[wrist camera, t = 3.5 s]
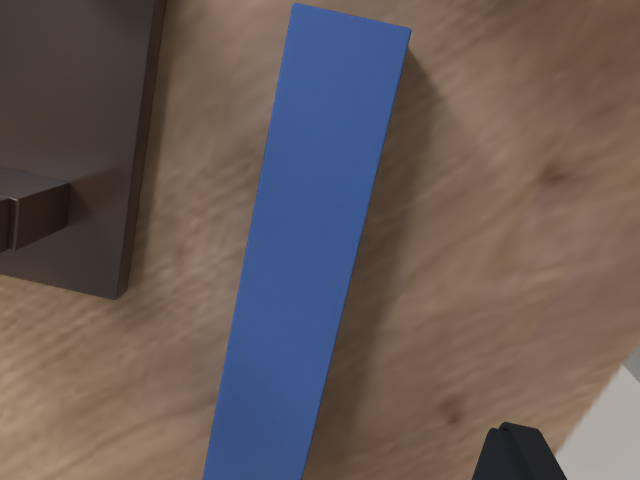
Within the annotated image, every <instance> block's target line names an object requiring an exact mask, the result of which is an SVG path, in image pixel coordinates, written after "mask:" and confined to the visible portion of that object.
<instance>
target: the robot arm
mask: <svg viewBox="0 0 640 480" xmlns="http://www.w3.org/2000/svg"><path fill="white" fill-rule="evenodd" d="M472 480H567V478H566V477H565V475H564V473H563V471H562V469H561V468H560V466H559V464H558V462H557V461H556V459H555V457H554V455H553V453H552V452H551V450H550V448H549V446H548V444H547V443H546V441H545V439H544V437H543V435H542V434H541V432H540V431H539V430H538V429H535V428H531V427H526V426H522V425H517V424H513V423H508V422H504V423H502V424H501V426H500V427H499V429H496V428H491V429H490V430H489V432H488V434H487V436H486V439H485V442H484V445H483V448H482V451H481V454H480V457H479V460H478V463H477V466H476V469H475V472H474V475H473V477H472Z"/></svg>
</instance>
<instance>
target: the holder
mask: <svg viewBox="0 0 640 480" xmlns="http://www.w3.org/2000/svg"><path fill="white" fill-rule="evenodd" d="M165 4H166V0H0V274H3V275H8V276H12V277H16V278H21V279H25V280H29V281H34V282H38V283H43V284H47V285H51V286H56V287H60V288H64V289H69V290H73V291H77V292H82V293H86V294H91V295H95V296H99V297H104V298H108V299H112V300H117V299H118V298H119V297H120V296H121V295H122V294H124V293H125V292H126V291H127V285H128V278H129V270H130V263H131V255H132V248H133V241H134V233H135V226H136V218H137V211H138V204H139V196H140V189H141V181H142V174H143V167H144V159H145V152H146V144H147V137H148V130H149V122H150V115H151V107H152V100H153V93H154V85H155V78H156V70H157V63H158V56H159V48H160V41H161V33H162V26H163V19H164V11H165Z"/></svg>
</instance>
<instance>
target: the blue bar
mask: <svg viewBox="0 0 640 480" xmlns="http://www.w3.org/2000/svg"><path fill="white" fill-rule="evenodd" d="M410 35H411V29H410V28H406V27H402V26H397V25H393V24H388V23H384V22H379V21H375V20H370V19H366V18H361V17H357V16H352V15H348V14H344V13H339V12H335V11H330V10H326V9H321V8H317V7H312V6H308V5H303V4H299V3H293V6H292V11H291V17H290V22H289V27H288V32H287V38H286V43H285V48H284V53H283V59H282V64H281V69H280V74H279V80H278V85H277V90H276V95H275V101H274V106H273V111H272V116H271V122H270V127H269V132H268V137H267V143H266V148H265V153H264V158H263V164H262V169H261V174H260V179H259V185H258V190H257V195H256V200H255V206H254V211H253V216H252V222H251V227H250V232H249V237H248V243H247V248H246V253H245V258H244V264H243V269H242V274H241V279H240V285H239V290H238V295H237V300H236V306H235V311H234V316H233V321H232V327H231V332H230V337H229V342H228V348H227V353H226V358H225V363H224V369H223V374H222V379H221V384H220V390H219V395H218V400H217V405H216V411H215V416H214V421H213V426H212V432H211V437H210V442H209V448H208V453H207V458H206V463H205V469H204V474H203V479H202V480H302V477H303V473H304V469H305V465H306V461H307V457H308V453H309V448H310V444H311V440H312V436H313V432H314V428H315V424H316V420H317V416H318V412H319V408H320V403H321V399H322V395H323V391H324V387H325V383H326V379H327V375H328V371H329V367H330V363H331V358H332V354H333V350H334V346H335V342H336V338H337V334H338V330H339V326H340V322H341V318H342V313H343V309H344V305H345V301H346V297H347V293H348V289H349V285H350V281H351V277H352V273H353V268H354V264H355V260H356V256H357V252H358V248H359V244H360V240H361V236H362V232H363V228H364V223H365V219H366V215H367V211H368V207H369V203H370V199H371V195H372V191H373V187H374V183H375V178H376V174H377V170H378V166H379V162H380V158H381V154H382V150H383V146H384V142H385V138H386V133H387V129H388V125H389V121H390V117H391V113H392V109H393V105H394V101H395V97H396V93H397V88H398V84H399V80H400V76H401V72H402V68H403V64H404V60H405V56H406V52H407V48H408V43H409V39H410Z"/></svg>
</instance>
